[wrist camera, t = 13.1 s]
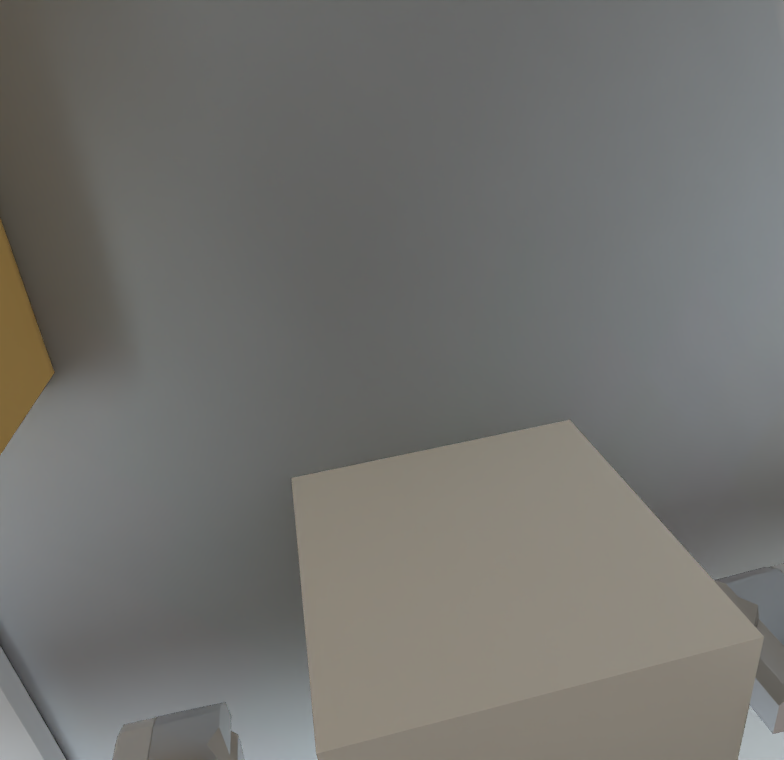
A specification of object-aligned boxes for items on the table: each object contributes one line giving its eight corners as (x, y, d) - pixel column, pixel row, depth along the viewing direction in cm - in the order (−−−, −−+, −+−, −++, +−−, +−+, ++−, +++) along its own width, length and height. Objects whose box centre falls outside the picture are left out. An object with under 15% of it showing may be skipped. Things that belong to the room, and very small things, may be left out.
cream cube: (291, 475, 11) (315, 754, 6) (568, 417, 11) (763, 636, 7) (336, 672, 13) (378, 977, 9) (565, 616, 14) (712, 875, 9)
